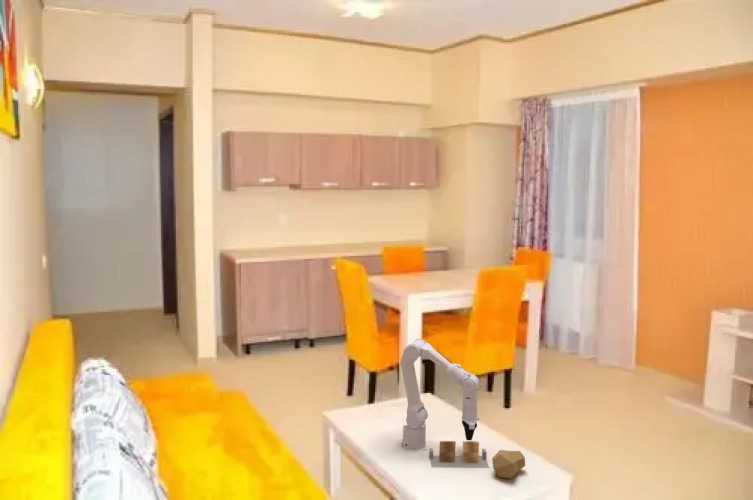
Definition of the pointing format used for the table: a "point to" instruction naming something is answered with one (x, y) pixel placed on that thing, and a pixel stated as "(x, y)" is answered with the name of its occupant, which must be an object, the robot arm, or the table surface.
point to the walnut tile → (447, 451)
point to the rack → (459, 461)
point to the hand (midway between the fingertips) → (468, 439)
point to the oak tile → (470, 451)
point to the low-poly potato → (508, 463)
